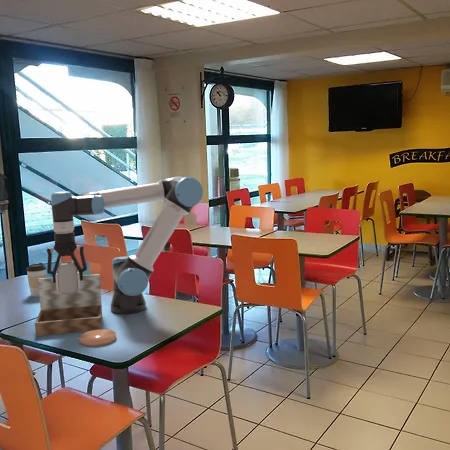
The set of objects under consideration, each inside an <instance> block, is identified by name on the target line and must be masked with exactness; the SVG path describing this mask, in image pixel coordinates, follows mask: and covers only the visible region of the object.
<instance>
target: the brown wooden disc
mask: <svg viewBox="0 0 450 450" xmlns="http://www.w3.org/2000/svg"><path fill="white" fill-rule="evenodd" d="M78 340H79V344H80V345H82V346H86V347H101V346H105V345H108V344H111V343H113V342H115V341H116V340H117V332H115V330H112V329H109V328H102V329H98V330H92V331H84V333H83V332H82V333H81V334H80V336H79V339H78Z"/></svg>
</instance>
